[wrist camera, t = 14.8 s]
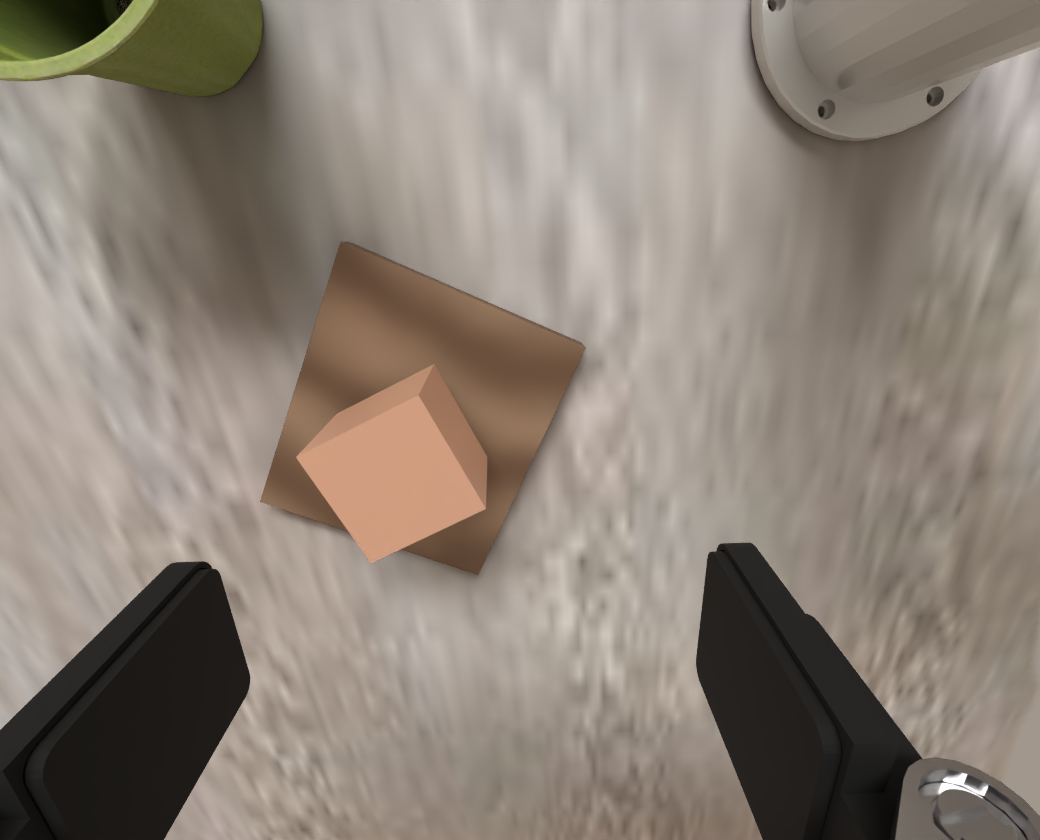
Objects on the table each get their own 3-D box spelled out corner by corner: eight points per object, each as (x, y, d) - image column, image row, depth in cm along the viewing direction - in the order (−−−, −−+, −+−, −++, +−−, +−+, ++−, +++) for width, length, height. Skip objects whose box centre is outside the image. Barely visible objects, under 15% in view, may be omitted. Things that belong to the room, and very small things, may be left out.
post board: (348, 241, 28) (294, 240, 20) (581, 342, 30) (610, 375, 22) (270, 490, 32) (201, 565, 25) (478, 561, 34) (474, 649, 27)
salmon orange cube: (336, 413, 28) (295, 457, 22) (434, 363, 27) (418, 395, 21) (394, 502, 29) (371, 563, 24) (487, 457, 29) (485, 508, 23)
